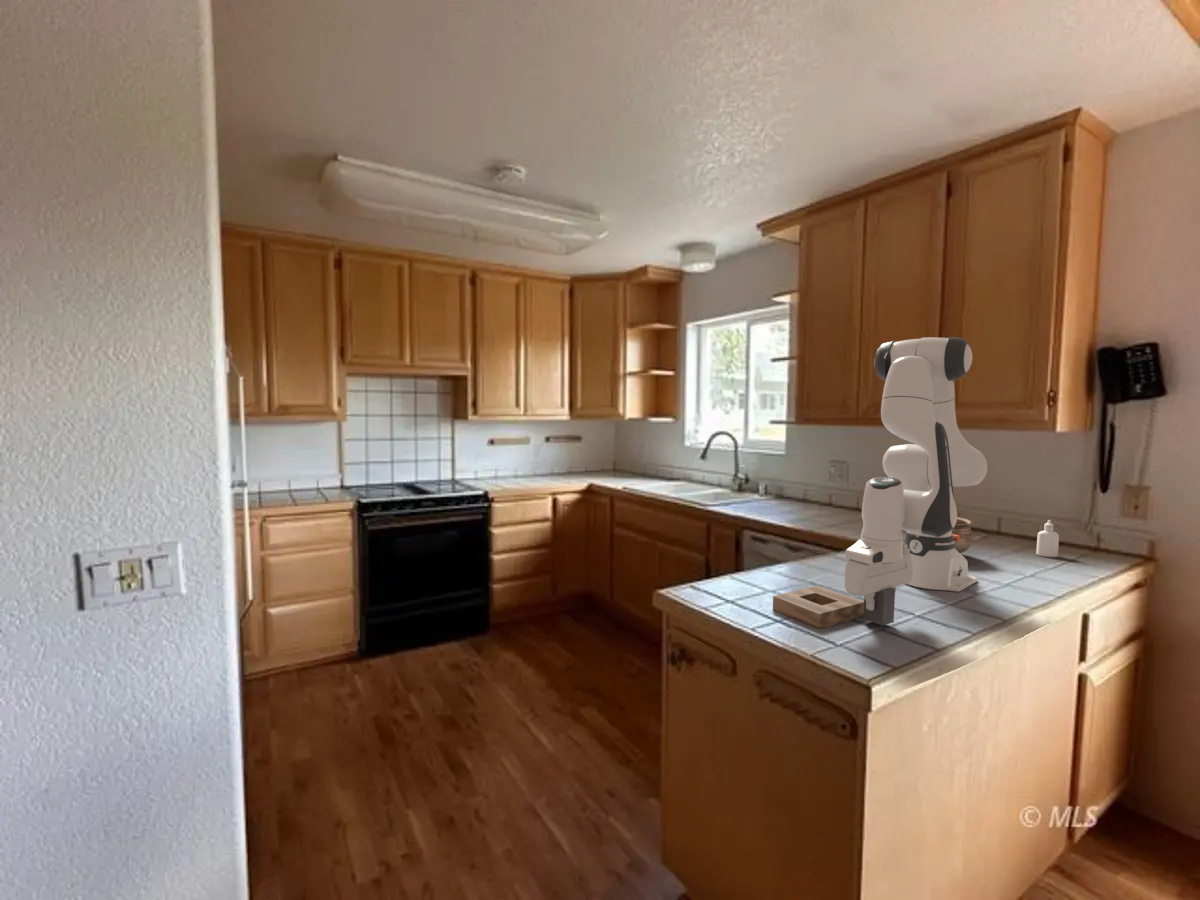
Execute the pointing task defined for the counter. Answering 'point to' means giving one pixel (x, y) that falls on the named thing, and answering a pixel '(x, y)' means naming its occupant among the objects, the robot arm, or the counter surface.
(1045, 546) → the eye dropper bottle
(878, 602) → the block
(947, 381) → the robot arm
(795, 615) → the dock
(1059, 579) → the counter surface
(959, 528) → the cooking pot
